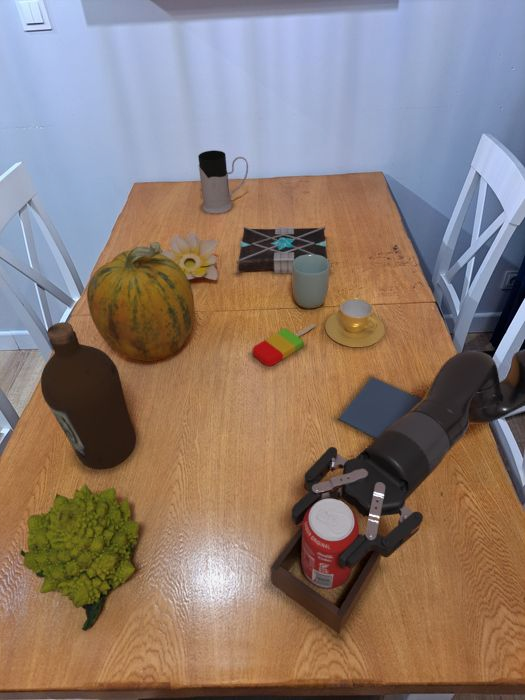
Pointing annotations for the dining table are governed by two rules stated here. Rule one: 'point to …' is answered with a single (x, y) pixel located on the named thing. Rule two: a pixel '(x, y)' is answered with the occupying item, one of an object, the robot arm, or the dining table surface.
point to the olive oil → (87, 400)
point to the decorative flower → (193, 256)
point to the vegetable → (83, 547)
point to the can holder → (310, 597)
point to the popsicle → (279, 346)
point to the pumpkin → (142, 303)
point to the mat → (377, 407)
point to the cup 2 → (355, 324)
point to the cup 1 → (310, 280)
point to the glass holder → (216, 181)
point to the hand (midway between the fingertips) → (316, 541)
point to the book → (279, 247)
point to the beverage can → (327, 542)
